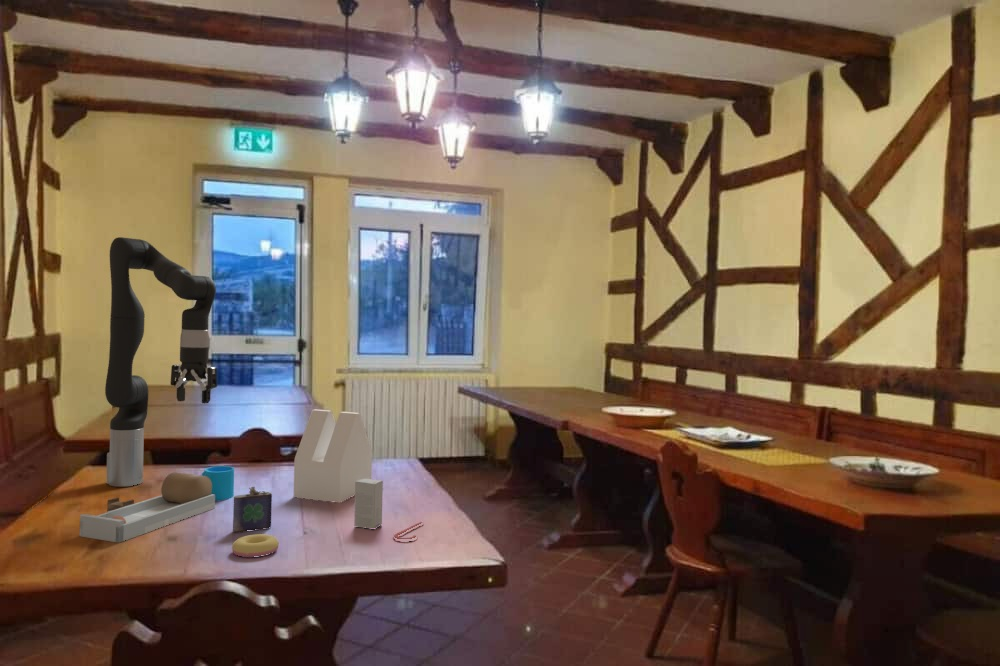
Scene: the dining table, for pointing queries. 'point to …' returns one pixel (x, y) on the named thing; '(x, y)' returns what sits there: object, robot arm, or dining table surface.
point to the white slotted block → (332, 457)
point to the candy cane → (405, 531)
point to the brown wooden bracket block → (117, 504)
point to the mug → (221, 481)
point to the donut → (255, 545)
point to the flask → (252, 511)
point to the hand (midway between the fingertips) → (193, 402)
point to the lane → (153, 510)
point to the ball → (119, 518)
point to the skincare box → (368, 503)
